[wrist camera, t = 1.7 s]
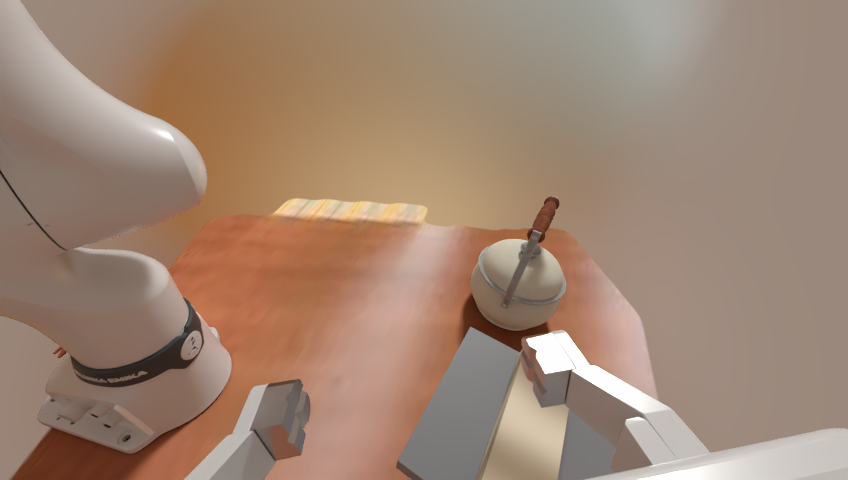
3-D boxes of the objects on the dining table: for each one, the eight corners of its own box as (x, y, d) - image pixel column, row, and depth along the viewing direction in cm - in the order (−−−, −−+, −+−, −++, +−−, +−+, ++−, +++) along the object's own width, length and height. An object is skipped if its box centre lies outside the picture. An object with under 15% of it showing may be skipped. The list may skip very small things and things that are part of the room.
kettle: (534, 364, 56) (597, 269, 41) (448, 317, 62) (475, 219, 47) (558, 285, 74) (608, 198, 59) (489, 255, 80) (518, 169, 65)
